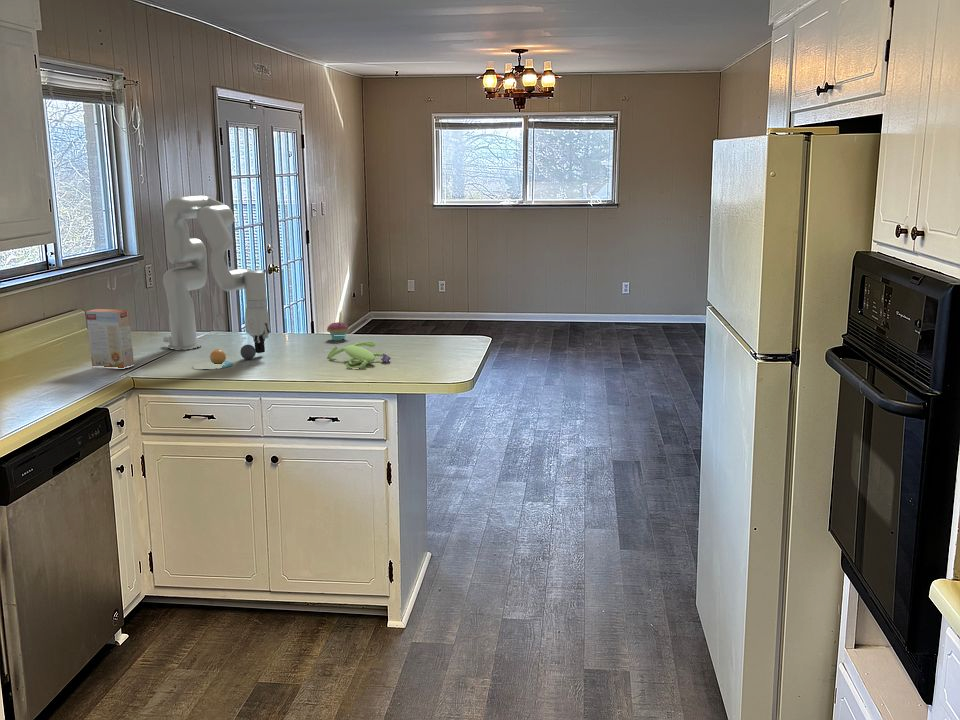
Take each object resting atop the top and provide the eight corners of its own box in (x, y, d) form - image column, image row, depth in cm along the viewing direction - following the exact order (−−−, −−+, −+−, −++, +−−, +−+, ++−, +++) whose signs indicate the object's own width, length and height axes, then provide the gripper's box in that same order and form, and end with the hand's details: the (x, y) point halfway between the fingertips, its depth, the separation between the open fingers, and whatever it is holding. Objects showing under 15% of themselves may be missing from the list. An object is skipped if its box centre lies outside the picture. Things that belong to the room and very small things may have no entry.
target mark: (184, 369, 312) (184, 368, 312) (205, 360, 325) (205, 360, 325) (220, 370, 309) (220, 370, 309) (239, 362, 322) (239, 361, 322)
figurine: (370, 352, 337) (369, 337, 336) (399, 365, 315) (398, 349, 313) (324, 358, 329) (323, 343, 327) (350, 371, 306) (349, 356, 305)
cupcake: (352, 338, 362) (351, 309, 360) (341, 342, 355) (339, 312, 352) (335, 336, 366) (333, 308, 363) (323, 340, 358) (321, 311, 356)
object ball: (228, 356, 322) (219, 368, 320) (215, 347, 321) (206, 360, 319) (229, 353, 317) (220, 366, 315) (216, 345, 316) (207, 357, 314)
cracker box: (135, 366, 317) (129, 309, 312) (123, 370, 311) (117, 312, 307) (103, 364, 321) (97, 307, 317) (91, 368, 316) (85, 310, 311)
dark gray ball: (255, 345, 329) (252, 359, 330) (240, 342, 327) (237, 357, 327) (258, 346, 325) (255, 361, 325) (243, 344, 322) (240, 359, 322)
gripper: (236, 303, 329) (240, 351, 333) (259, 307, 319) (263, 356, 323) (253, 300, 334) (257, 348, 338) (276, 304, 325) (280, 353, 329)
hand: (260, 352), depth 331 cm, fingers closed
